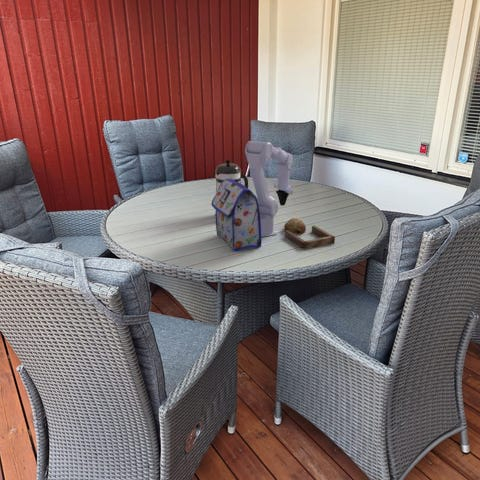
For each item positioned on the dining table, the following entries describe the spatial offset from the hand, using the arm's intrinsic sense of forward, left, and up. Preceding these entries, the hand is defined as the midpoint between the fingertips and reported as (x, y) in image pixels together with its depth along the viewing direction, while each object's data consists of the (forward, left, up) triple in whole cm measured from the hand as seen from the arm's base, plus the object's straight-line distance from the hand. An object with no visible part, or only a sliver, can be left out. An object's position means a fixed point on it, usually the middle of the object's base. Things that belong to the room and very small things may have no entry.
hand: (282, 205), depth 196 cm
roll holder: (0, -25, -9) cm, 26 cm away
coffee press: (-19, +21, -10) cm, 30 cm away
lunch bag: (-30, -12, -10) cm, 34 cm away
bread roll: (0, -12, -10) cm, 15 cm away
